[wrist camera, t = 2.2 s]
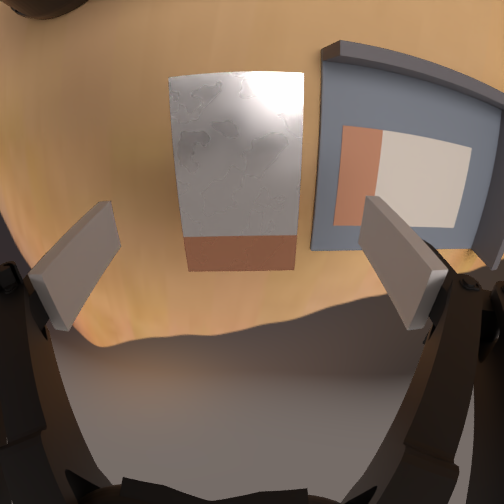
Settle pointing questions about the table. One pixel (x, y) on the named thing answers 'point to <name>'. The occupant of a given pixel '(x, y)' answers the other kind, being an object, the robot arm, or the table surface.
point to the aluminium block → (238, 167)
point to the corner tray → (408, 150)
